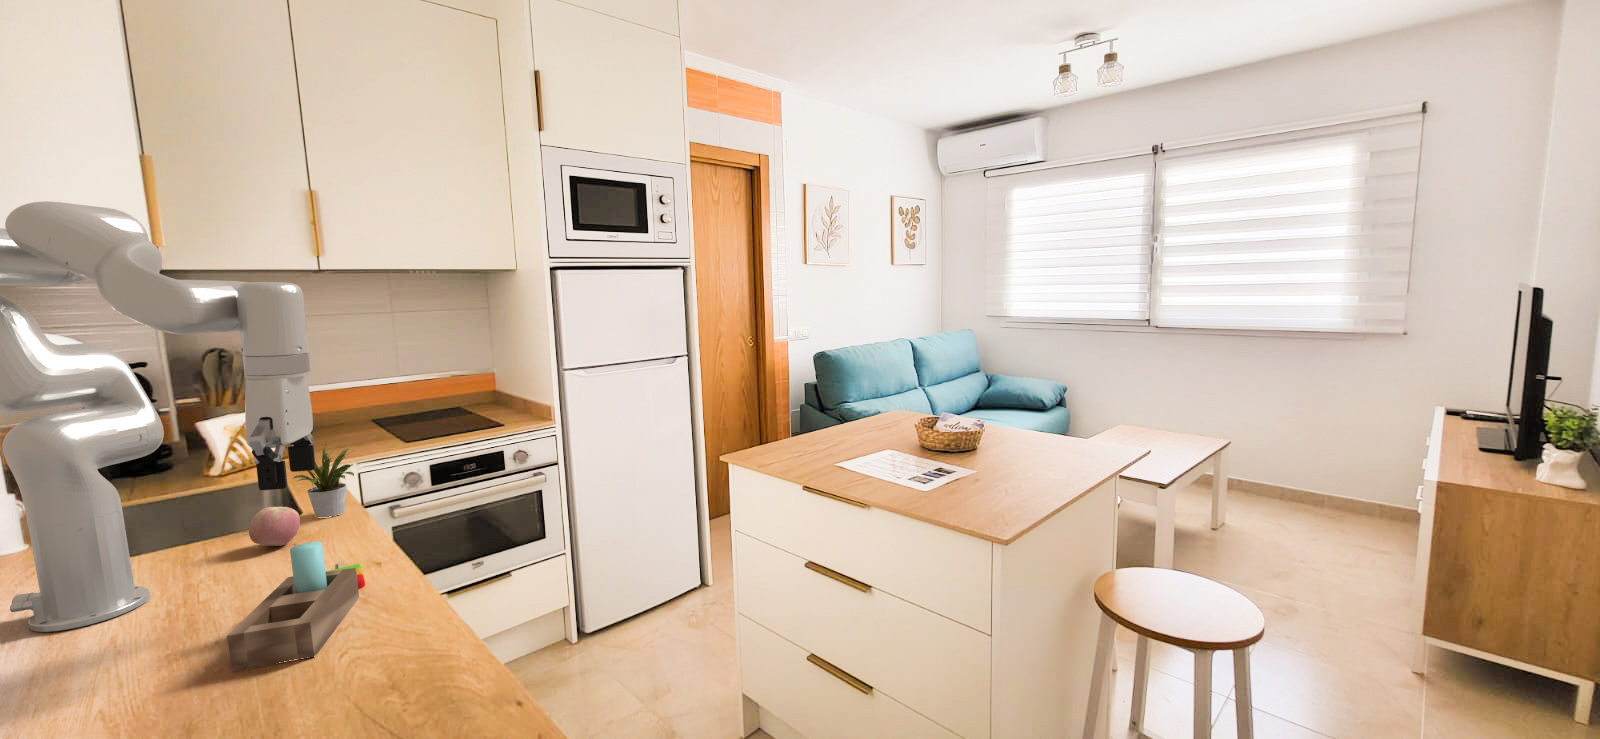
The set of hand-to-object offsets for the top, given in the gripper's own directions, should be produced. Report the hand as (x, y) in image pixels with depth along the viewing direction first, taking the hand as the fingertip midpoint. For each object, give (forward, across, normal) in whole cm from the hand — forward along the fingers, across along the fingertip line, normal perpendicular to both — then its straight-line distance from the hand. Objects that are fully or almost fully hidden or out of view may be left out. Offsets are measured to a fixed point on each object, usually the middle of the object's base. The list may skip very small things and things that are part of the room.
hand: (289, 479), depth 95 cm
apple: (+22, -33, -16) cm, 43 cm away
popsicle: (+22, -12, +2) cm, 25 cm away
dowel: (+21, +2, +2) cm, 21 cm away
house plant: (+22, -50, -14) cm, 56 cm away
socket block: (+21, +7, +3) cm, 22 cm away
